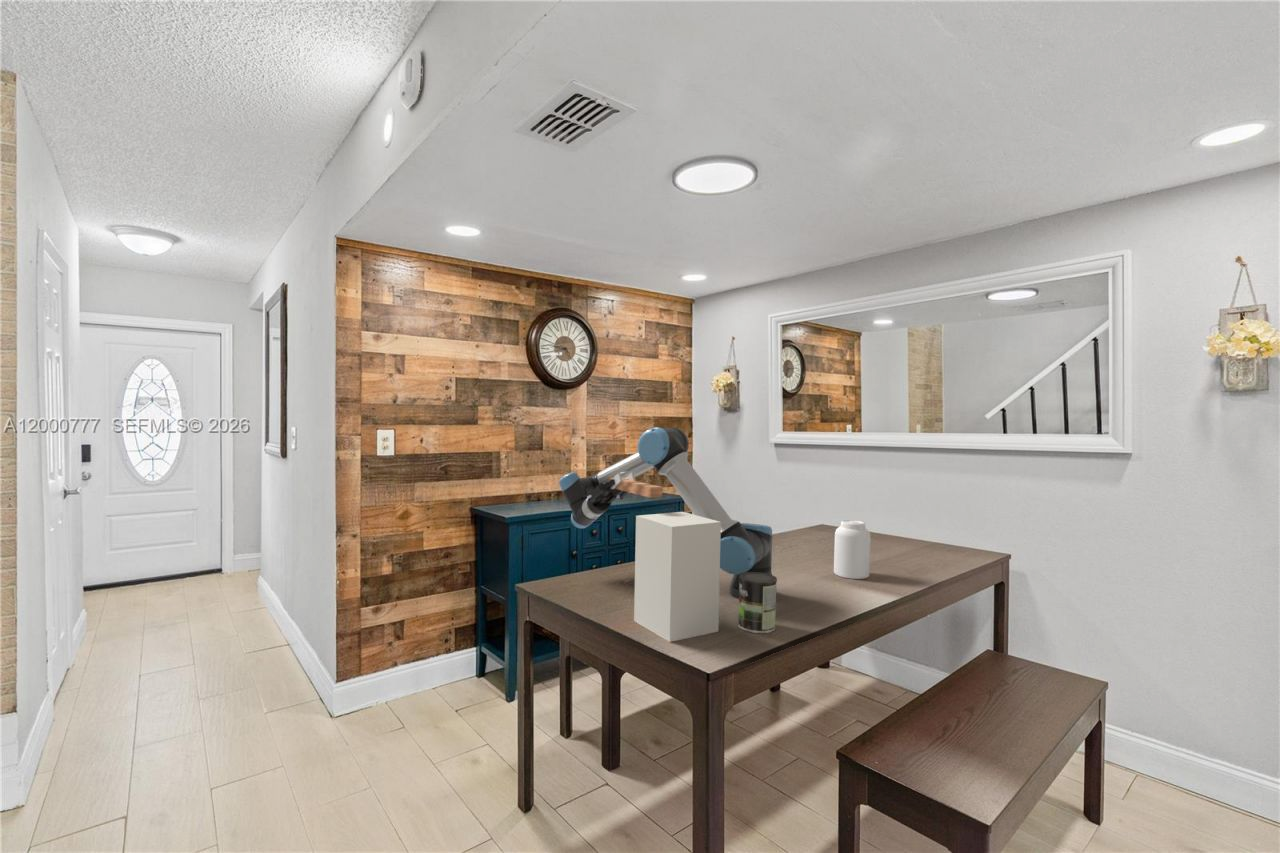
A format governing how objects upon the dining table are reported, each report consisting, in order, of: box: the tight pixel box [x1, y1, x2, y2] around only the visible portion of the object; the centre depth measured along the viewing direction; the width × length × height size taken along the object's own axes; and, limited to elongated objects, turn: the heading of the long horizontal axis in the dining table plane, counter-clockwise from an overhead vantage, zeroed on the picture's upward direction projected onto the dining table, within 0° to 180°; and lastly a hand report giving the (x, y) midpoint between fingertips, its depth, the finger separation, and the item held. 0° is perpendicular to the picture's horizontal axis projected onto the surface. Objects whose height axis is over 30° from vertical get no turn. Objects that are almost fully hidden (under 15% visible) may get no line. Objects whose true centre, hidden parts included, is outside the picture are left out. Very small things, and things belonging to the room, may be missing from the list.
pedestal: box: [633, 511, 721, 643], centre depth 172 cm, size 18×16×30 cm
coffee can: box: [737, 572, 778, 634], centre depth 173 cm, size 10×10×14 cm
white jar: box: [833, 519, 872, 580], centre depth 229 cm, size 12×12×20 cm
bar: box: [608, 478, 664, 499], centre depth 191 cm, size 26×4×3 cm, turn 31°
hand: (626, 476), depth 195 cm, fingers closed on bar, 4 cm apart
